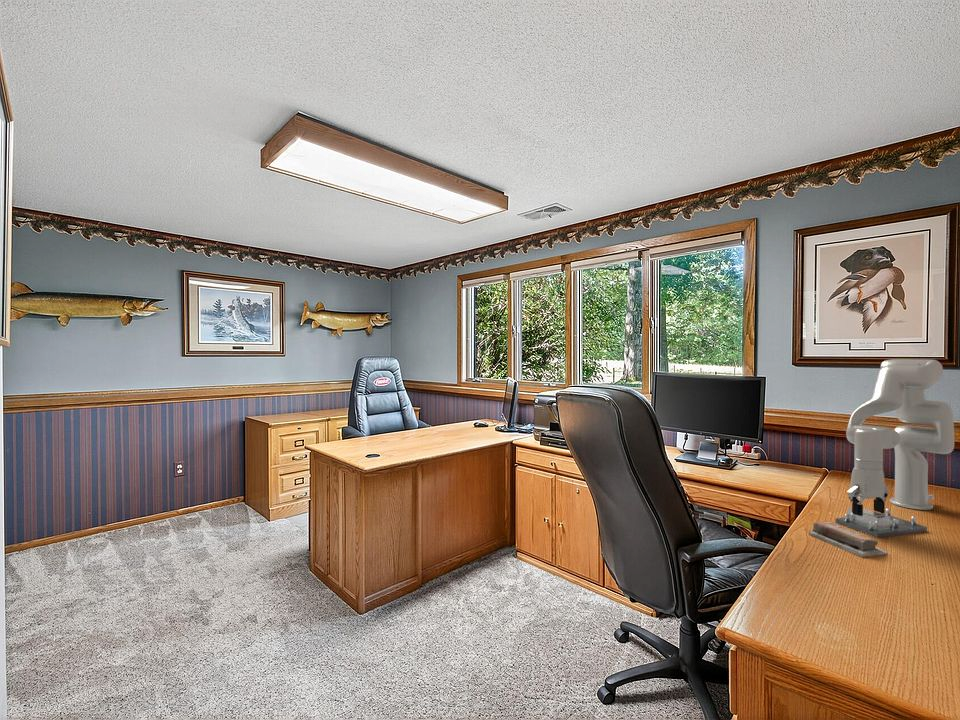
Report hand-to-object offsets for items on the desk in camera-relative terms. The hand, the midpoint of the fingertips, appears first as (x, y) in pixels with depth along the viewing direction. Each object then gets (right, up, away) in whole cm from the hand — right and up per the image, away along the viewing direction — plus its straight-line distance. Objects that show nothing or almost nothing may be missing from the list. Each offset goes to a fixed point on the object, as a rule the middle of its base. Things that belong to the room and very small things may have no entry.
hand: (868, 513), depth 158 cm
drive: (0, -4, 0) cm, 4 cm away
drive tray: (+5, -5, +1) cm, 7 cm away
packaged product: (-18, -6, -12) cm, 22 cm away
